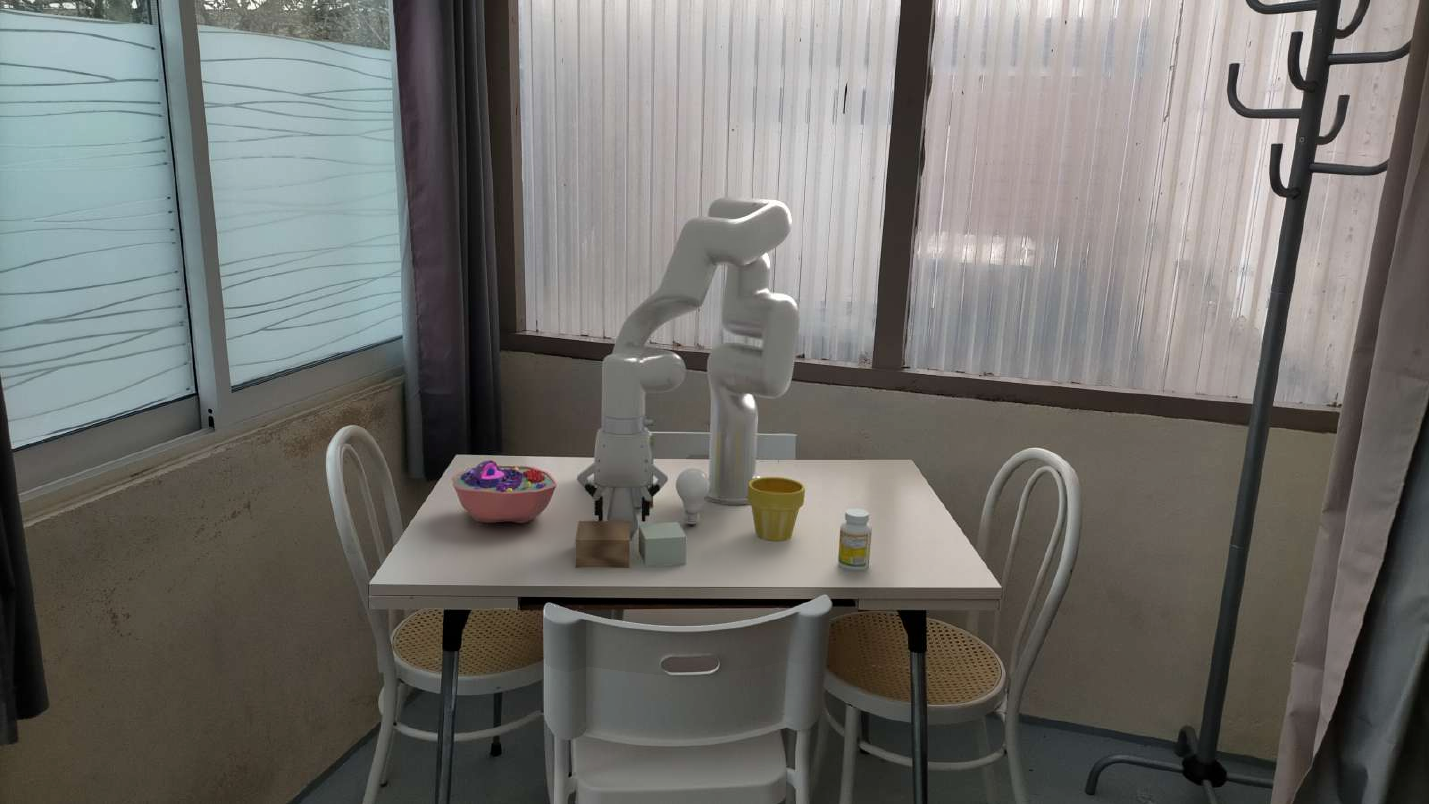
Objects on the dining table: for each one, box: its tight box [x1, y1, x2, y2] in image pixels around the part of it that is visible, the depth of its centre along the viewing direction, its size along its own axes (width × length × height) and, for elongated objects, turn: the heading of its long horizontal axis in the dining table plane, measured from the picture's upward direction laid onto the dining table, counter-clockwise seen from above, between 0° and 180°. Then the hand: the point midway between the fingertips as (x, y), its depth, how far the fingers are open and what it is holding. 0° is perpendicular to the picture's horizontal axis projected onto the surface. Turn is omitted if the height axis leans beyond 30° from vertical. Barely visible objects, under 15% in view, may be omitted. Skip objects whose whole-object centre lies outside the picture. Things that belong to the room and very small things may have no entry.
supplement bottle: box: [837, 508, 873, 571], centre depth 176 cm, size 5×5×10 cm
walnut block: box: [575, 520, 631, 569], centre depth 176 cm, size 9×9×5 cm
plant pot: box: [748, 476, 806, 542], centre depth 188 cm, size 10×10×10 cm
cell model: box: [451, 459, 558, 524], centre depth 191 cm, size 17×20×11 cm
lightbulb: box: [675, 467, 710, 526], centre depth 192 cm, size 6×6×11 cm
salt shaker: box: [606, 483, 639, 542], centre depth 184 cm, size 6×6×13 cm
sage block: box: [637, 521, 688, 568], centre depth 176 cm, size 7×7×5 cm
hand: (622, 518), depth 184 cm, fingers open, 7 cm apart
